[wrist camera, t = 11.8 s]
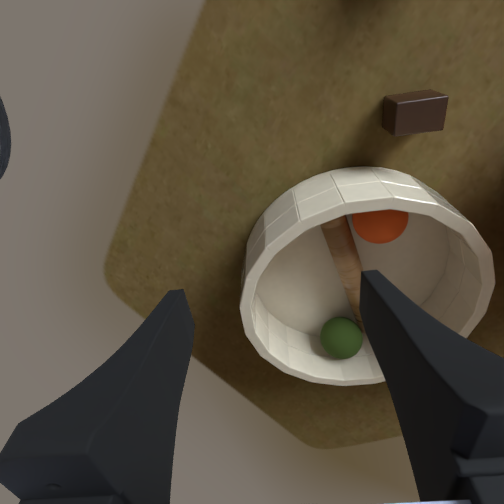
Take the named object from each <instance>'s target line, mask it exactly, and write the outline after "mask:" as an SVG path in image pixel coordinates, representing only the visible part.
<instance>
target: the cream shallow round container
mask: <svg viewBox="0 0 504 504" xmlns="http://www.w3.org/2000/svg"><path fill="white" fill-rule="evenodd" d="M389 209H392V210H398V211H403V212H408V214H409V218H408V224H407V226H406V228H405V230H404V232H403V233H402V234H401V235H400V236H399V237H398V238H396V239H395V240H393V241H391V242H388V243H383V244H375V243H371V242H368V241H366V240H364V239H363V238H361V237H360V236H359V235H358V234H357V232H356V231H355V229H354V226H353V223H352V214H354V213H363V212H371V211H380V210H389ZM343 215H346V217H347V220H348V223H349V226H350V229H351V232H352V236H353V239H354V242H355V245H356V248H357V251H358V254H359V257H360V261H361V264H362V267H363V270H364V271H367V270H376V269H377V270H378V271H379V272H380V273H381V274H383V275H384V276H385V277H386V278H387V279H388V280H389V281H390V282H391V283H392V284H393V285H395V286H396V287H397V288H398V289H399V290H400V291H401V292H402V293H404V294H405V295H406V296H407V297H408V298H409V299H411V300H412V301H413V302H414V303H415V304H417V305H418V306H419V307H420V308H422V309H423V310H424V311H426V312H427V313H428V314H430V315H431V316H432V317H434V318H435V319H436V320H438V321H439V322H441V323H442V324H444V325H445V326H447V327H448V328H450V329H452V330H453V331H455V332H456V333H458V334H459V335H461V336H463V337H465V338H466V339H467V337H468V336H469V335H470V333H471V332H472V331H473V329H474V328H475V327H476V325H477V324H478V323H479V322H480V320H481V319H482V318H483V316H484V315H485V313H486V311H487V308H488V305H489V302H490V299H491V296H492V293H493V290H494V287H495V283H496V282H495V273H494V265H493V256H492V252H491V250H490V248H489V247H488V245H487V244H486V242H485V241H484V239H483V238H482V237H481V235H480V234H479V232H478V231H477V229H476V228H475V226H474V225H473V224H472V223H471V222H470V221H469V220H468V219H467V218H466V217H464V216H463V215H462V214H461V213H460V212H459V211H458V210H457V209H456V208H454V207H453V206H452V205H451V204H450V203H449V202H448V201H447V200H446V199H444V198H443V197H442V196H441V195H440V194H439V193H438V192H436V191H434V190H433V189H431V188H429V187H428V186H427V185H425V184H424V183H423V182H421V181H420V180H418V179H416V178H414V177H412V176H410V175H408V174H405V173H402V172H399V171H396V170H392V169H387V168H382V167H368V166H360V167H347V168H342V169H336V170H331V171H328V172H325V173H322V174H319V175H316V176H313V177H311V178H309V179H307V180H305V181H302V182H300V183H299V184H297V185H295V186H294V187H292V188H291V189H289V190H287V191H286V192H285V193H283V194H282V195H281V196H280V197H278V198H277V199H276V200H275V201H274V202H273V203H272V204H271V205H270V206H269V207H268V208H267V209H266V210H265V211H264V213H263V214H262V215H261V217H260V218H259V219H258V221H257V222H256V224H255V226H254V228H253V229H252V231H251V233H250V236H249V238H248V241H247V244H246V248H245V253H244V261H243V266H242V276H241V291H240V307H239V308H240V313H241V318H242V322H243V327H244V331H245V335H246V336H247V338H248V339H249V340H250V342H251V343H252V345H253V346H254V347H255V349H256V350H257V352H258V353H259V355H260V356H261V357H263V358H264V359H265V360H267V361H268V362H270V363H271V364H272V365H274V366H275V367H277V368H278V369H280V370H281V371H282V372H284V373H287V374H289V375H292V376H295V377H298V378H301V379H303V380H306V381H309V382H313V383H321V384H329V385H337V386H352V385H366V384H375V383H380V382H384V381H386V380H385V378H384V375H383V373H382V371H381V368H380V366H379V364H378V361H377V359H376V357H375V354H374V352H373V349H372V347H371V345H370V342H369V340H368V337H367V335H365V334H363V333H362V337H363V342H362V346H361V348H360V350H359V352H358V353H357V354H356V355H354V356H353V357H351V358H348V359H338V358H334V357H332V356H331V355H329V354H328V353H327V352H326V351H325V350H324V348H323V346H322V344H321V341H320V333H321V329H322V327H323V325H324V324H325V323H326V322H327V321H328V320H330V319H332V318H334V317H346V318H349V319H351V320H352V321H354V322H355V323H356V320H355V317H354V315H353V312H352V309H351V307H350V304H349V301H348V299H347V296H346V293H345V290H344V288H343V285H342V282H341V280H340V277H339V274H338V272H337V269H336V266H335V264H334V261H333V258H332V256H331V253H330V250H329V248H328V245H327V242H326V240H325V237H324V234H323V232H322V229H321V226H320V225H321V224H323V223H326V222H328V221H331V220H333V219H336V218H338V217H341V216H343ZM356 324H357V323H356Z"/></svg>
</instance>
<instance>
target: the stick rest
mask: <svg viewBox="0 0 504 504" xmlns="http://www.w3.org/2000/svg"><path fill="white" fill-rule="evenodd" d="M447 103H448V95H445V94H442V93H439V92H436V91H433V90H424V91H417V92H410V93H403V94H396V95H389V96H385V97H384V104H383V119H382V127H383V128H384V129H385V130H386V131H388V132H389V133H390V134H392V135H393V136H402V135H410V134H417V133H425V132H432V131H439V130H443V128H444V122H445V116H446V110H447Z"/></svg>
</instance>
